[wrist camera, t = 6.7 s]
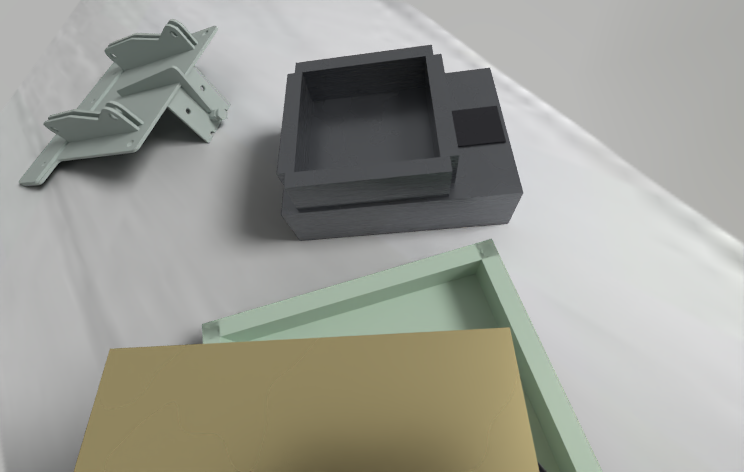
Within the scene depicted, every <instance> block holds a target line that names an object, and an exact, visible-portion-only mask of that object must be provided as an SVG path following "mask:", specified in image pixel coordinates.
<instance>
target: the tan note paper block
mask: <svg viewBox="0 0 744 472" xmlns="http://www.w3.org/2000/svg"><path fill="white" fill-rule="evenodd" d="M74 472H539V467H538V462H537V457H536V452H535V448H534V443H533V438H532V433H531V428H530V423H529V418H528V413H527V408H526V404H525V399H524V394H523V389H522V384H521V379H520V374H519V369H518V364H517V360H516V355H515V350H514V345H513V340H512V335H511V330H510V327H507V328H488V329H470V330H451V331H433V332H414V333H396V334H377V335H358V336H340V337H321V338H303V339H284V340H266V341H247V342H228V343H210V344H191V345H173V346H154V347H136V348H117V349H110V351H109V354H108V357H107V361H106V364H105V367H104V371H103V374H102V378H101V381H100V384H99V388H98V391H97V395H96V398H95V401H94V405H93V408H92V411H91V415H90V418H89V422H88V425H87V428H86V432H85V435H84V439H83V442H82V445H81V449H80V452H79V455H78V459H77V462H76V466H75V469H74Z"/></svg>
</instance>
